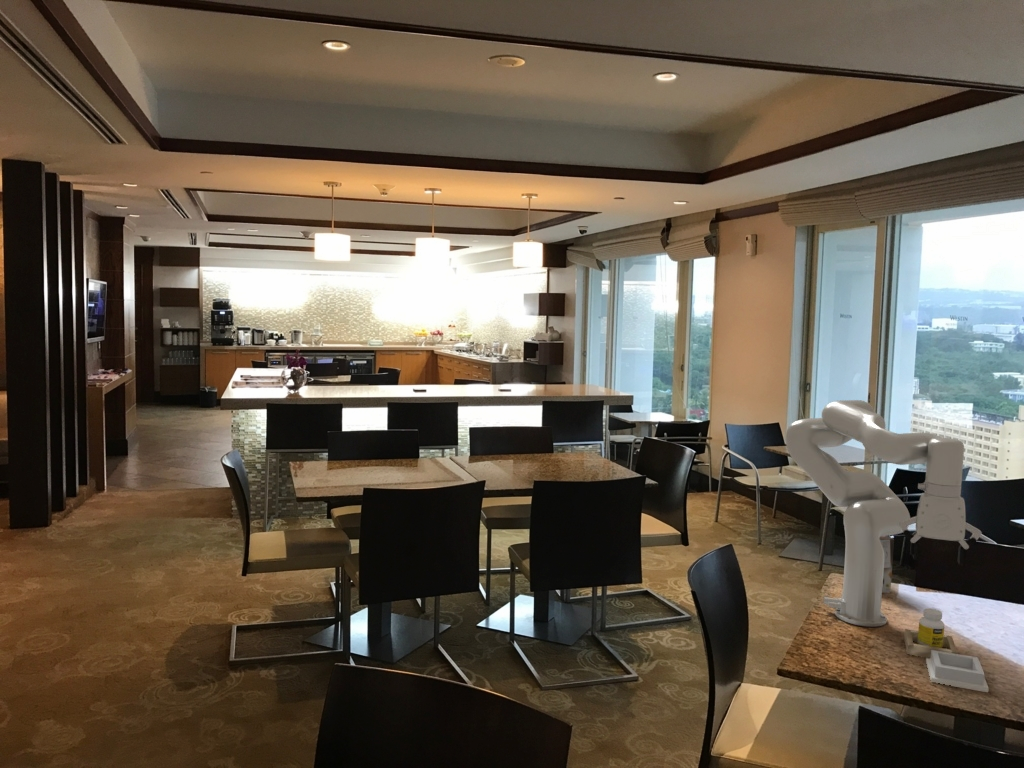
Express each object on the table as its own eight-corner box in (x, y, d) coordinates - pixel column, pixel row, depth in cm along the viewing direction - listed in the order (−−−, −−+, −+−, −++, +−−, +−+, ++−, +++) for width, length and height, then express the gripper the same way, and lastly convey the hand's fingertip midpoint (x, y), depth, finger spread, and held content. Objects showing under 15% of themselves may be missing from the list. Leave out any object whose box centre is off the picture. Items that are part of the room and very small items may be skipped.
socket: (930, 682, 176) (932, 666, 176) (925, 662, 186) (927, 647, 186) (988, 692, 172) (989, 676, 172) (979, 671, 182) (981, 656, 182)
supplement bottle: (932, 656, 190) (935, 616, 189) (911, 648, 194) (915, 608, 194) (947, 652, 192) (950, 613, 191) (926, 644, 197) (929, 605, 196)
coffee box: (891, 593, 233) (895, 539, 231) (870, 593, 232) (874, 539, 231) (874, 582, 242) (878, 530, 240) (854, 582, 241) (858, 530, 240)
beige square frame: (907, 654, 190) (908, 644, 190) (904, 638, 200) (904, 628, 200) (956, 663, 187) (957, 652, 186) (951, 646, 196) (951, 636, 196)
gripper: (903, 489, 189) (898, 560, 191) (987, 497, 183) (981, 570, 185) (900, 483, 196) (896, 551, 198) (981, 491, 190) (976, 561, 191)
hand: (937, 560), depth 191 cm, fingers open, 9 cm apart
